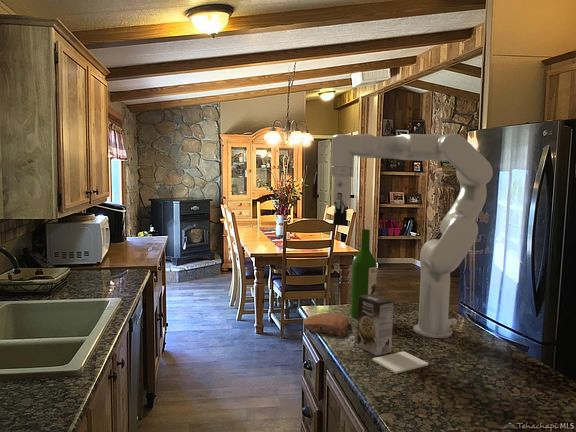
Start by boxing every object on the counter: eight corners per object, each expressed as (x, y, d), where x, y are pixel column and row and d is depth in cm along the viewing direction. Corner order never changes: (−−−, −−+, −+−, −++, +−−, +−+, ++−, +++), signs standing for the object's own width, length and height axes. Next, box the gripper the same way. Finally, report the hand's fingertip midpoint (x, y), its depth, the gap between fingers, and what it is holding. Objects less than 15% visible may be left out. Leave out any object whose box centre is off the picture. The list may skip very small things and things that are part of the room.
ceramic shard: (309, 305, 176) (350, 315, 173) (305, 323, 176) (346, 332, 173) (303, 312, 161) (347, 322, 159) (299, 331, 161) (344, 341, 159)
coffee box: (355, 346, 150) (357, 295, 149) (371, 342, 154) (373, 292, 152) (376, 356, 143) (378, 302, 141) (392, 352, 146) (394, 299, 145)
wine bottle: (368, 321, 175) (372, 231, 172) (346, 316, 180) (349, 229, 177) (378, 315, 183) (382, 229, 179) (357, 311, 188) (360, 227, 184)
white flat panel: (403, 353, 146) (403, 351, 146) (428, 365, 137) (428, 363, 137) (372, 360, 140) (372, 358, 140) (396, 373, 131) (396, 371, 131)
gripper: (351, 172, 152) (349, 227, 154) (355, 172, 169) (353, 221, 170) (327, 172, 153) (325, 226, 155) (333, 171, 170) (332, 220, 172)
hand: (340, 223), depth 163 cm, fingers open, 9 cm apart
